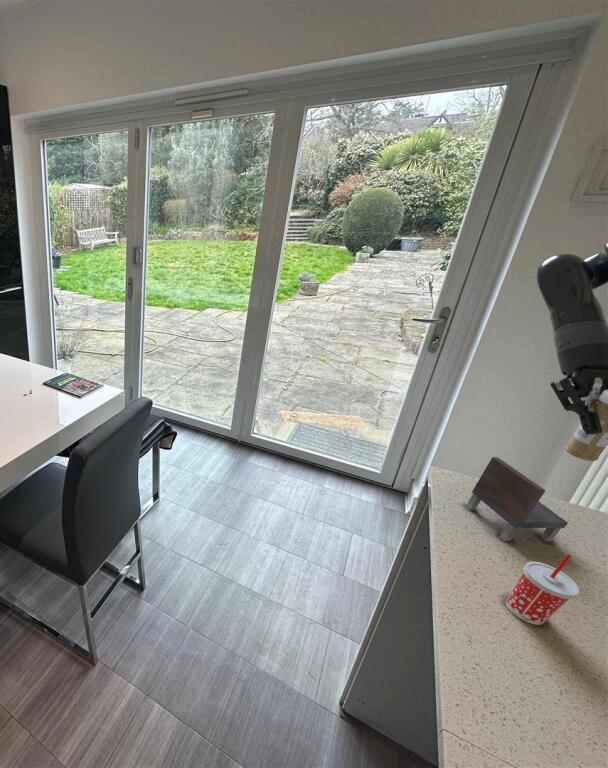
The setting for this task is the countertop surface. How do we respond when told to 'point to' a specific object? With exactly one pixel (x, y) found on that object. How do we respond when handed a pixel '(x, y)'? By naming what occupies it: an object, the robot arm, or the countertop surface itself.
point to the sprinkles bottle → (592, 444)
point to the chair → (514, 500)
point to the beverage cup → (541, 592)
